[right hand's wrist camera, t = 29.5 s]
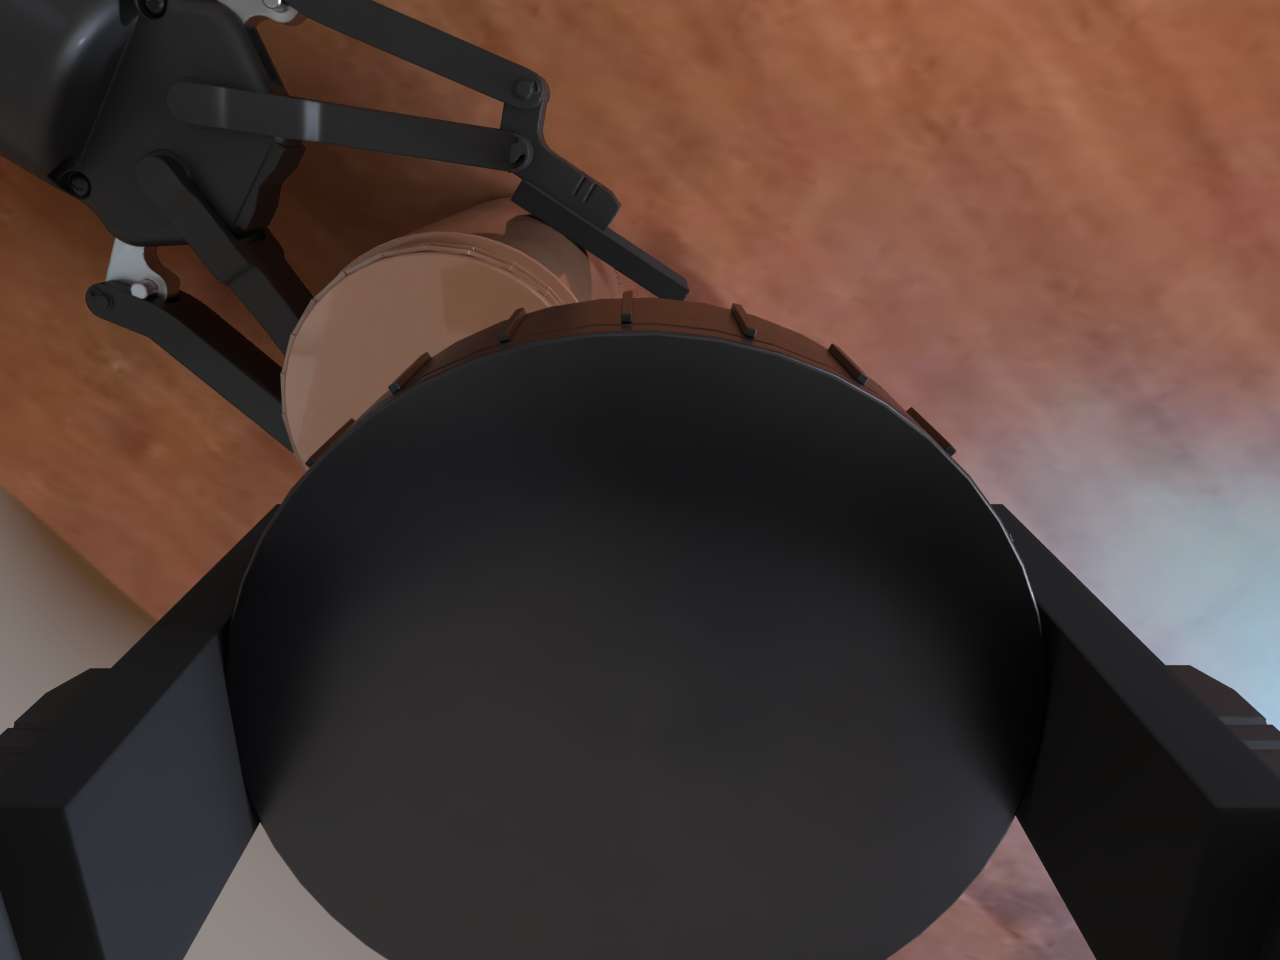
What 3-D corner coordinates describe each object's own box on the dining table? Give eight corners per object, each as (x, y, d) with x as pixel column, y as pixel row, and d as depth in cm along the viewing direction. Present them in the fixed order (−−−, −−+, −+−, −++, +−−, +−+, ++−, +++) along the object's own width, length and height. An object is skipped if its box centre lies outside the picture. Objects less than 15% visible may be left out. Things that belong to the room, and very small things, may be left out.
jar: (566, 161, 36) (512, 178, 20) (651, 348, 39) (660, 489, 23) (384, 249, 37) (203, 328, 22) (479, 425, 40) (378, 608, 24)
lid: (360, 929, 14) (314, 1059, 12) (207, 326, 11) (110, 367, 9) (971, 887, 14) (1027, 1012, 12) (1002, 256, 10) (1085, 282, 8)
